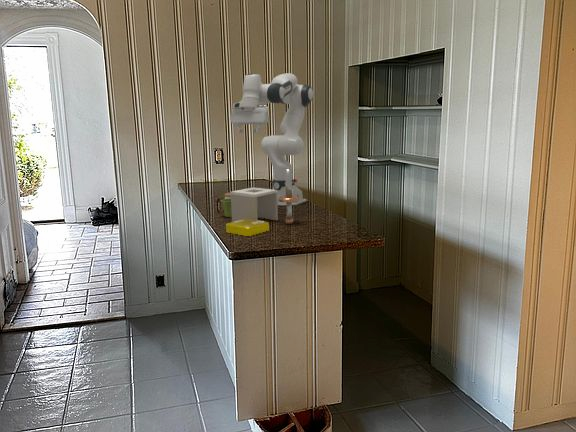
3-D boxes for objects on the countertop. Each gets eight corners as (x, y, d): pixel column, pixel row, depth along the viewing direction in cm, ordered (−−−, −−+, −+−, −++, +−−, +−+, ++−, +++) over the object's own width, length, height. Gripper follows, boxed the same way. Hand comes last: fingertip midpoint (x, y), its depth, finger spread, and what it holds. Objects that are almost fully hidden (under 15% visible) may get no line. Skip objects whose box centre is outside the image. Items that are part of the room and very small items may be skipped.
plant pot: (222, 218, 263) (222, 202, 261) (220, 215, 272) (219, 198, 270) (241, 217, 266) (240, 200, 264) (237, 214, 274) (237, 197, 273)
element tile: (247, 227, 246) (246, 217, 245) (271, 231, 237) (270, 221, 236) (224, 233, 235) (223, 222, 234) (248, 238, 226) (247, 227, 225)
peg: (287, 219, 258) (286, 167, 252) (303, 222, 252) (303, 168, 246) (274, 223, 250) (273, 169, 245) (291, 226, 244) (290, 171, 239)
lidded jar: (240, 209, 287) (240, 192, 285) (222, 208, 289) (221, 192, 287) (246, 205, 297) (245, 189, 295) (228, 205, 299) (227, 189, 297)
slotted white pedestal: (254, 216, 268) (253, 187, 265) (277, 219, 258) (277, 190, 255) (231, 221, 256) (230, 191, 253) (256, 226, 246) (255, 194, 243)
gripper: (271, 106, 259) (269, 134, 259) (236, 107, 268) (234, 134, 268) (265, 103, 254) (263, 131, 254) (230, 104, 263) (227, 131, 263)
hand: (248, 133), depth 261 cm, fingers open, 8 cm apart
